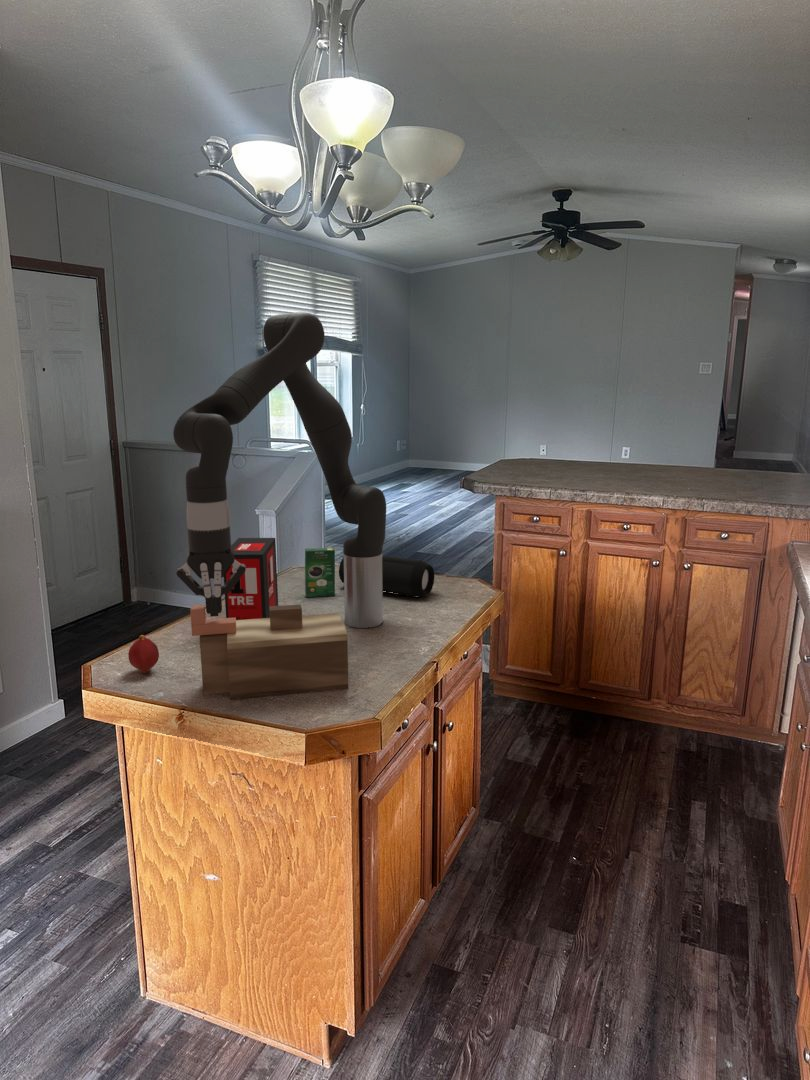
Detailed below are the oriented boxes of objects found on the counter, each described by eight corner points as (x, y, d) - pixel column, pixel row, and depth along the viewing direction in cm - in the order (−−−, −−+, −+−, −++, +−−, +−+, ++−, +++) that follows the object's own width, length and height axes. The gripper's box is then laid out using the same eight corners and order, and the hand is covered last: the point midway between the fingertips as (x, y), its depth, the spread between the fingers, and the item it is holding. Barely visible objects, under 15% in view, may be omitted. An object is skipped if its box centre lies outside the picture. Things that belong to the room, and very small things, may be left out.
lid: (228, 631, 144) (226, 601, 143) (339, 623, 149) (338, 594, 148) (227, 654, 132) (225, 622, 131) (347, 645, 137) (347, 613, 136)
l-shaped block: (193, 630, 138) (191, 605, 137) (236, 627, 140) (234, 602, 139) (192, 635, 135) (190, 610, 134) (236, 632, 137) (234, 607, 136)
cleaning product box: (242, 616, 181) (238, 537, 176) (278, 616, 181) (275, 537, 177) (227, 640, 165) (222, 554, 160) (266, 640, 165) (262, 554, 160)
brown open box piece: (205, 676, 145) (201, 623, 143) (340, 664, 151) (339, 613, 148) (202, 702, 134) (198, 645, 131) (348, 688, 139) (347, 633, 137)
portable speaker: (435, 593, 200) (435, 558, 198) (420, 603, 191) (420, 566, 189) (355, 581, 211) (355, 548, 209) (337, 590, 203) (336, 555, 200)
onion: (130, 668, 149) (126, 631, 147) (159, 664, 151) (156, 628, 149) (130, 679, 144) (126, 641, 142) (160, 675, 146) (157, 637, 144)
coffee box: (334, 593, 200) (333, 546, 197) (336, 596, 197) (334, 549, 194) (305, 595, 198) (303, 548, 195) (306, 598, 196) (304, 550, 193)
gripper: (245, 519, 138) (250, 606, 142) (172, 522, 135) (179, 611, 139) (246, 527, 131) (250, 619, 134) (168, 530, 128) (176, 624, 132)
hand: (214, 615), depth 137 cm, fingers closed
